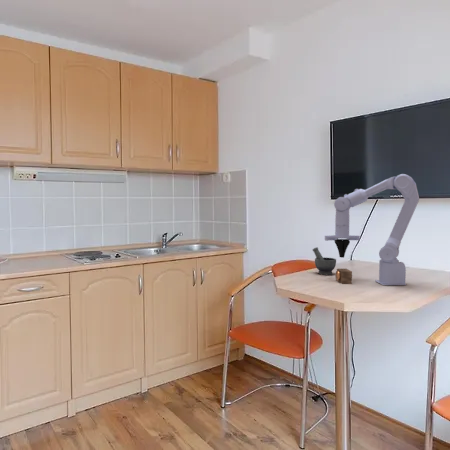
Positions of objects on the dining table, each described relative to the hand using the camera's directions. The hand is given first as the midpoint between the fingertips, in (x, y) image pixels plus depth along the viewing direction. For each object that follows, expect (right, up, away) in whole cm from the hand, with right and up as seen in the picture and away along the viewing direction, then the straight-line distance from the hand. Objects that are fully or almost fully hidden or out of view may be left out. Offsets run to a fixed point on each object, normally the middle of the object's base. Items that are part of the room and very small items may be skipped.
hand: (341, 257), depth 168 cm
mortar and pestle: (-4, -9, +13) cm, 17 cm away
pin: (-1, -9, -6) cm, 11 cm away
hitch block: (-1, -10, -6) cm, 11 cm away
